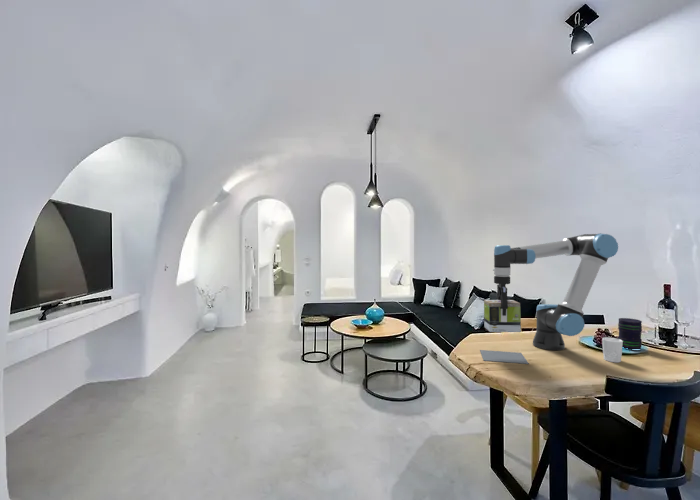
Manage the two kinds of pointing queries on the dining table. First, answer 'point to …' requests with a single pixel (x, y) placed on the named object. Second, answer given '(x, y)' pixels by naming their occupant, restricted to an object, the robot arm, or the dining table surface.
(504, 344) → the dining table surface
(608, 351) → the white cup
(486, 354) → the mat
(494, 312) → the tea box
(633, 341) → the storage jar
